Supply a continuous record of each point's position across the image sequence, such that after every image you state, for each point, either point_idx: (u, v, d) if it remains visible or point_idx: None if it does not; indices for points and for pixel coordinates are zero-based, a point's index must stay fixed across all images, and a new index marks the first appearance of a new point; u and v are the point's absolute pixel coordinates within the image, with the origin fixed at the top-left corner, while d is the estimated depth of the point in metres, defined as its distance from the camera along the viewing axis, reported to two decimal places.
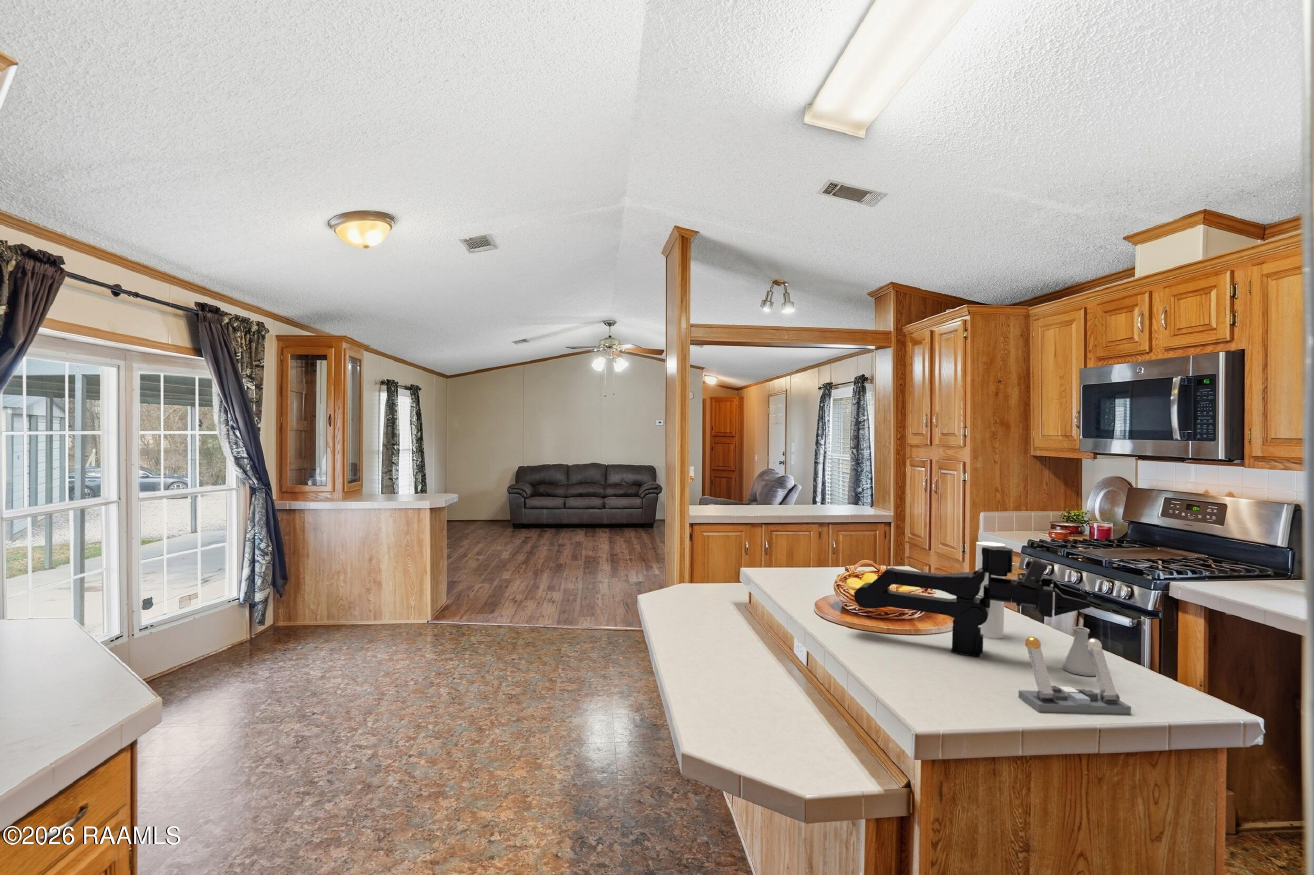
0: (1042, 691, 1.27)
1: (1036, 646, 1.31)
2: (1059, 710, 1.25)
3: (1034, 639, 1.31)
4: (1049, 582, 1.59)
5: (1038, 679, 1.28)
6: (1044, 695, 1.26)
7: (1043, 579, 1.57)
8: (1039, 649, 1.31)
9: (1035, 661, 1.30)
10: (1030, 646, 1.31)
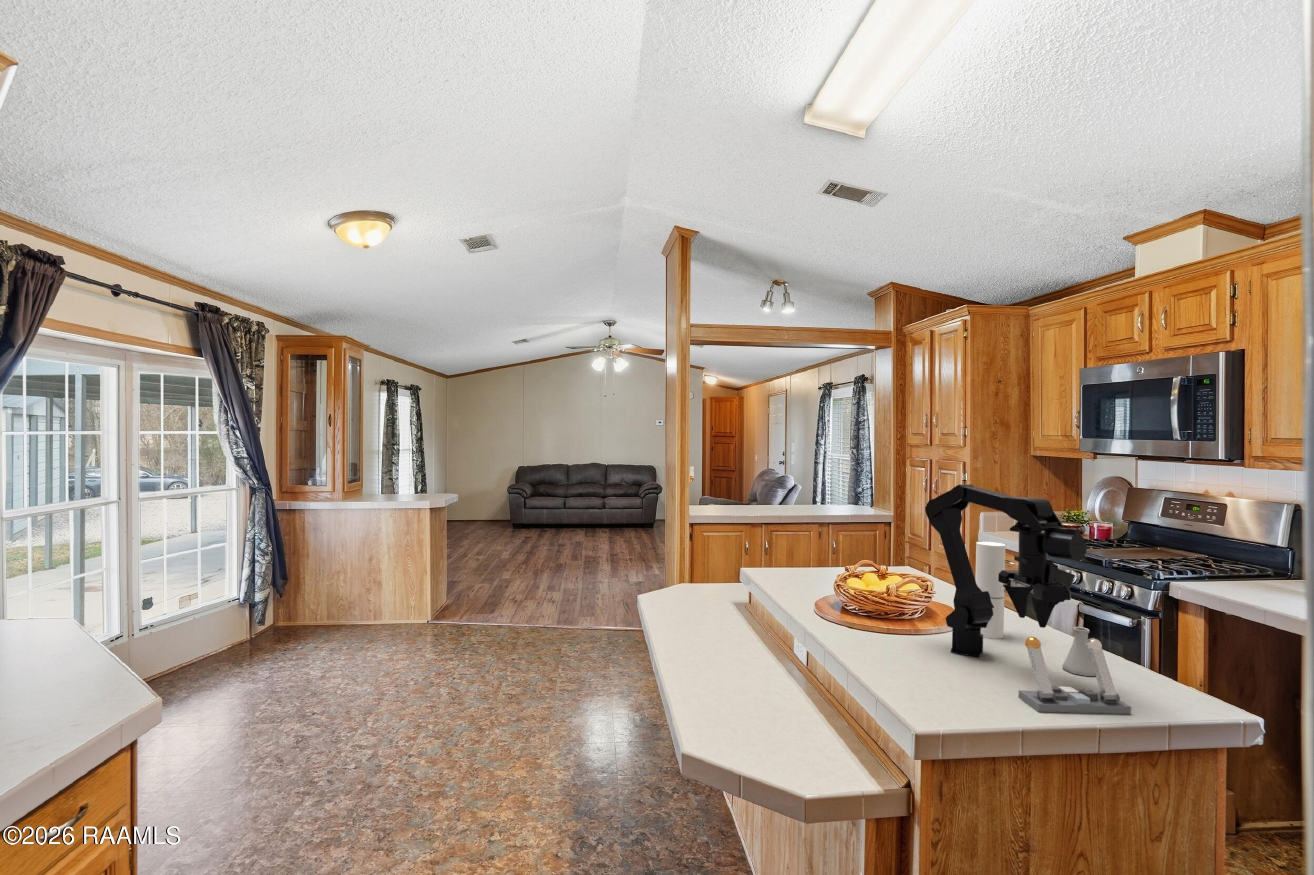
0: (1042, 691, 1.27)
1: (1036, 646, 1.31)
2: (1059, 710, 1.25)
3: (1034, 639, 1.31)
4: None
5: (1038, 679, 1.28)
6: (1044, 695, 1.26)
7: None
8: (1039, 649, 1.31)
9: (1035, 661, 1.30)
10: (1030, 646, 1.31)
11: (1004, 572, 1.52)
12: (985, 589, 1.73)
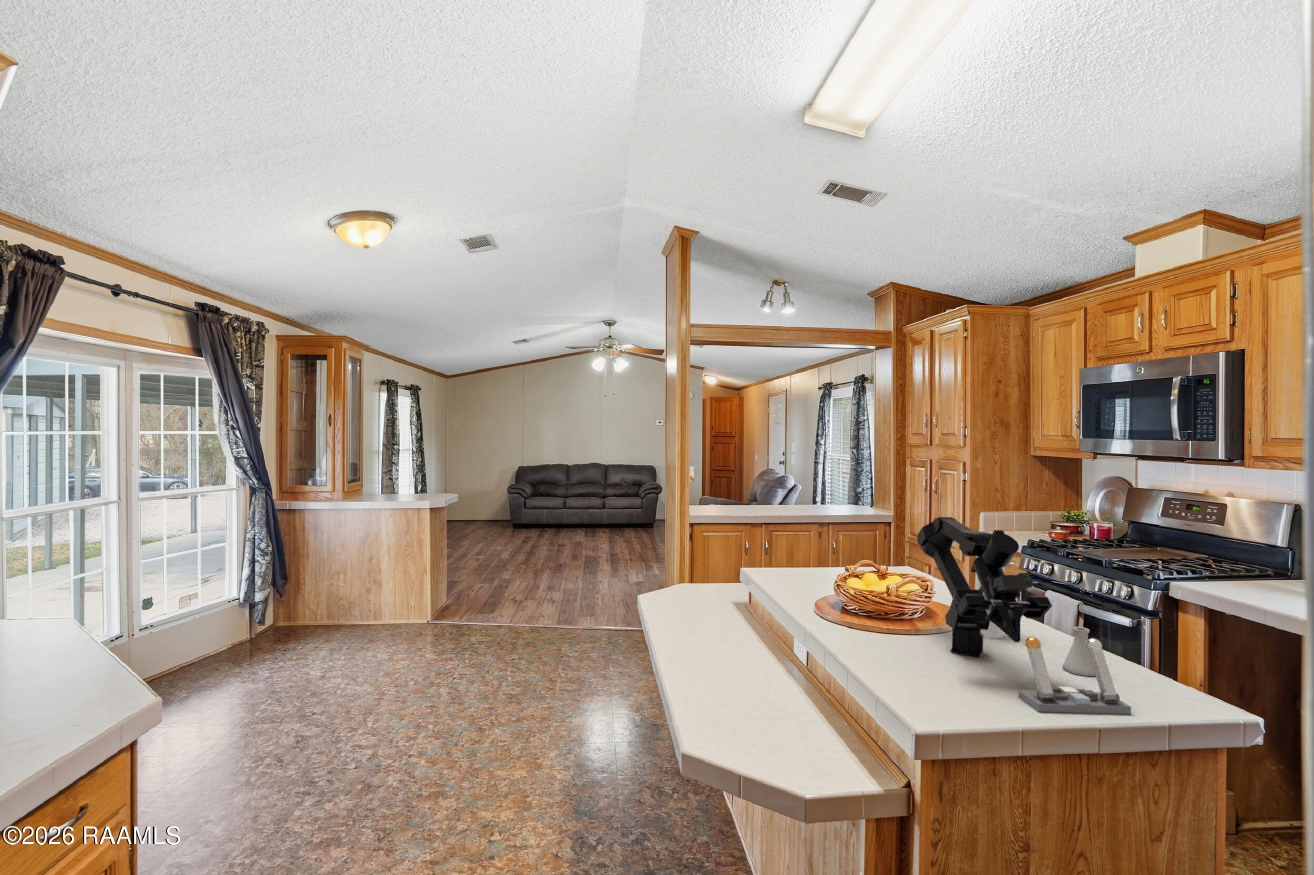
0: (1042, 691, 1.27)
1: (1036, 646, 1.31)
2: (1059, 710, 1.25)
3: (1034, 639, 1.31)
4: (1047, 606, 1.42)
5: (1038, 679, 1.28)
6: (1044, 695, 1.26)
7: (1032, 598, 1.42)
8: (1039, 649, 1.31)
9: (1035, 661, 1.30)
10: (1030, 646, 1.31)
11: None
12: None
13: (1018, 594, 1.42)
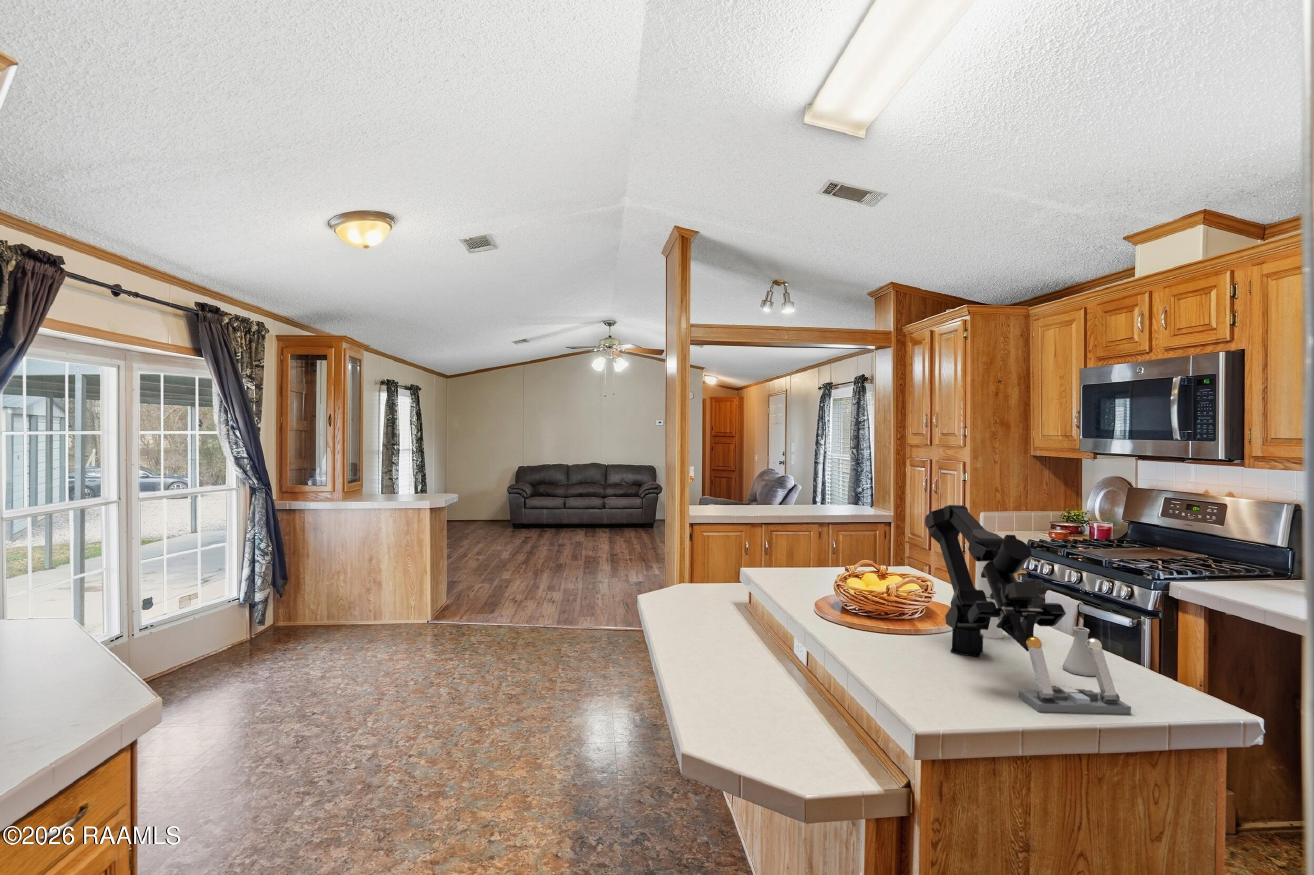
0: (1042, 691, 1.27)
1: (1037, 646, 1.30)
2: (1059, 710, 1.25)
3: (1035, 639, 1.31)
4: (1060, 614, 1.37)
5: (1038, 679, 1.28)
6: (1044, 695, 1.26)
7: (1045, 605, 1.37)
8: (1040, 649, 1.31)
9: (1036, 661, 1.29)
10: (1031, 646, 1.31)
11: None
12: (985, 589, 1.73)
13: (1031, 601, 1.38)
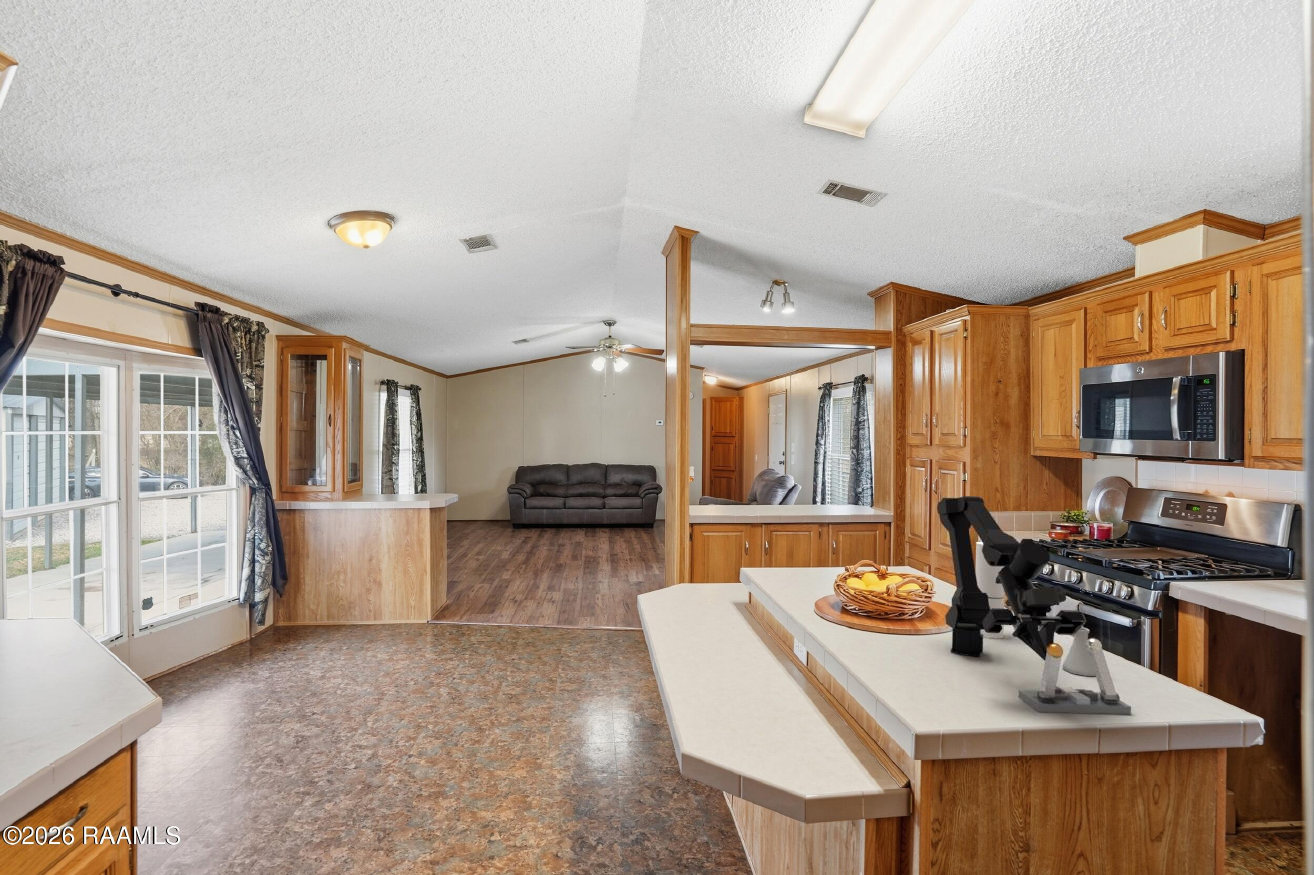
0: (1043, 694, 1.26)
1: (1057, 657, 1.24)
2: (1059, 710, 1.25)
3: (1058, 651, 1.23)
4: (1080, 622, 1.30)
5: (1044, 682, 1.26)
6: (1044, 698, 1.26)
7: (1064, 613, 1.31)
8: (1059, 658, 1.24)
9: (1049, 669, 1.25)
10: (1051, 655, 1.24)
11: None
12: (985, 589, 1.73)
13: (1049, 609, 1.31)
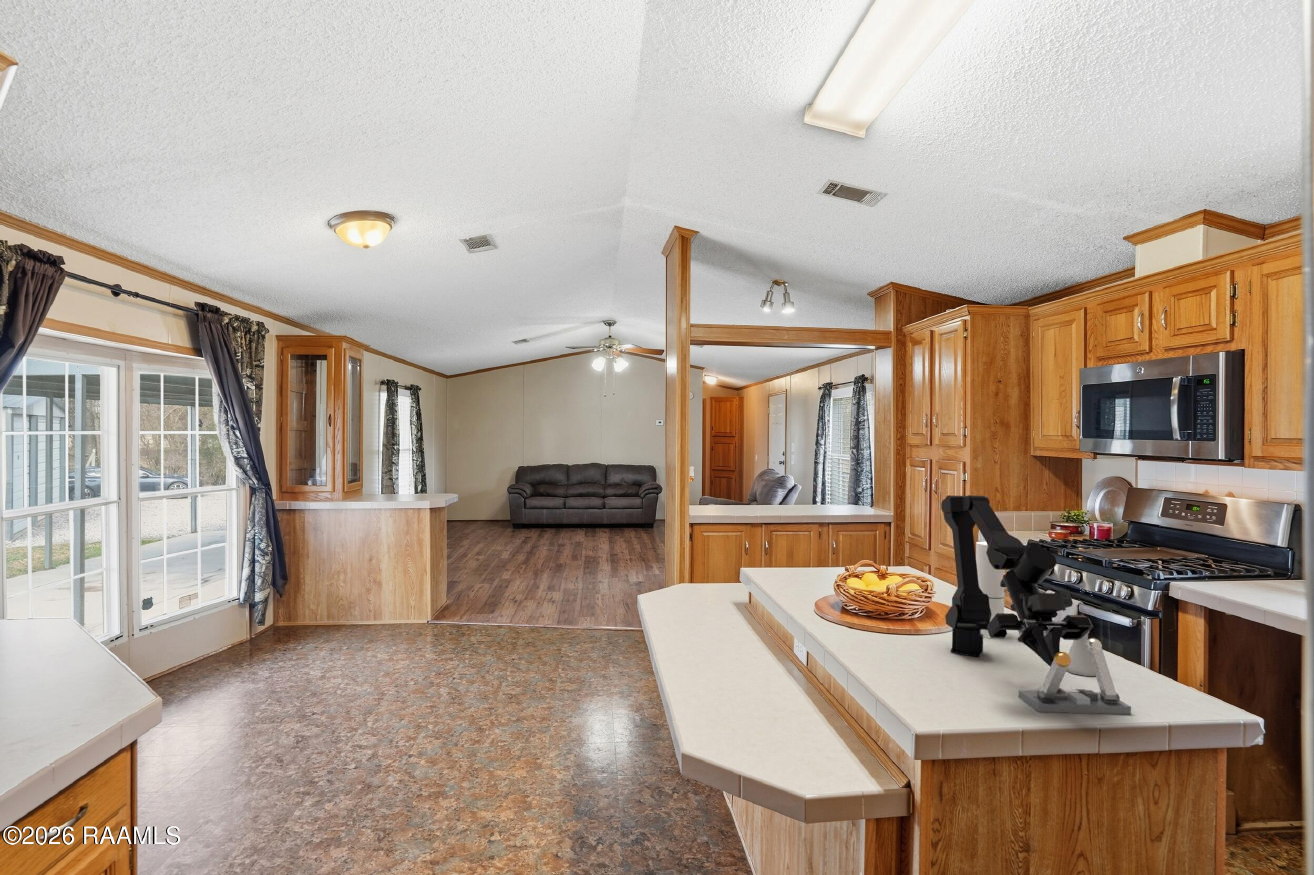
0: (1044, 695, 1.26)
1: (1064, 667, 1.22)
2: (1059, 710, 1.25)
3: (1066, 662, 1.21)
4: (1087, 627, 1.29)
5: (1046, 686, 1.25)
6: (1043, 699, 1.27)
7: (1071, 618, 1.29)
8: (1065, 667, 1.22)
9: (1054, 675, 1.24)
10: (1057, 664, 1.22)
11: None
12: (985, 589, 1.73)
13: (1055, 614, 1.29)
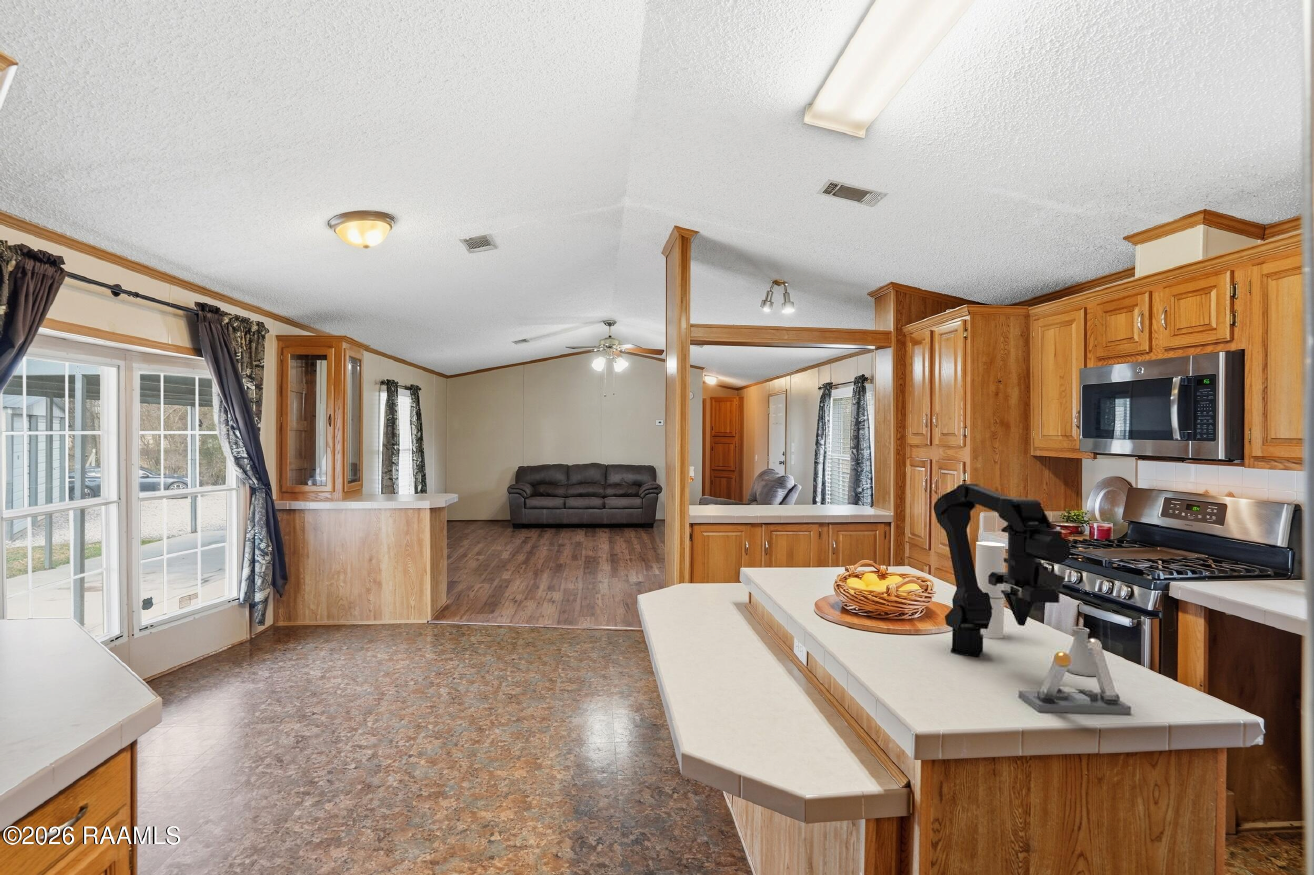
0: (1044, 695, 1.26)
1: (1064, 667, 1.22)
2: (1059, 710, 1.25)
3: (1066, 662, 1.21)
4: None
5: (1046, 686, 1.25)
6: (1043, 699, 1.27)
7: None
8: (1065, 667, 1.22)
9: (1054, 675, 1.24)
10: (1057, 664, 1.22)
11: (994, 574, 1.50)
12: (985, 589, 1.73)
13: None
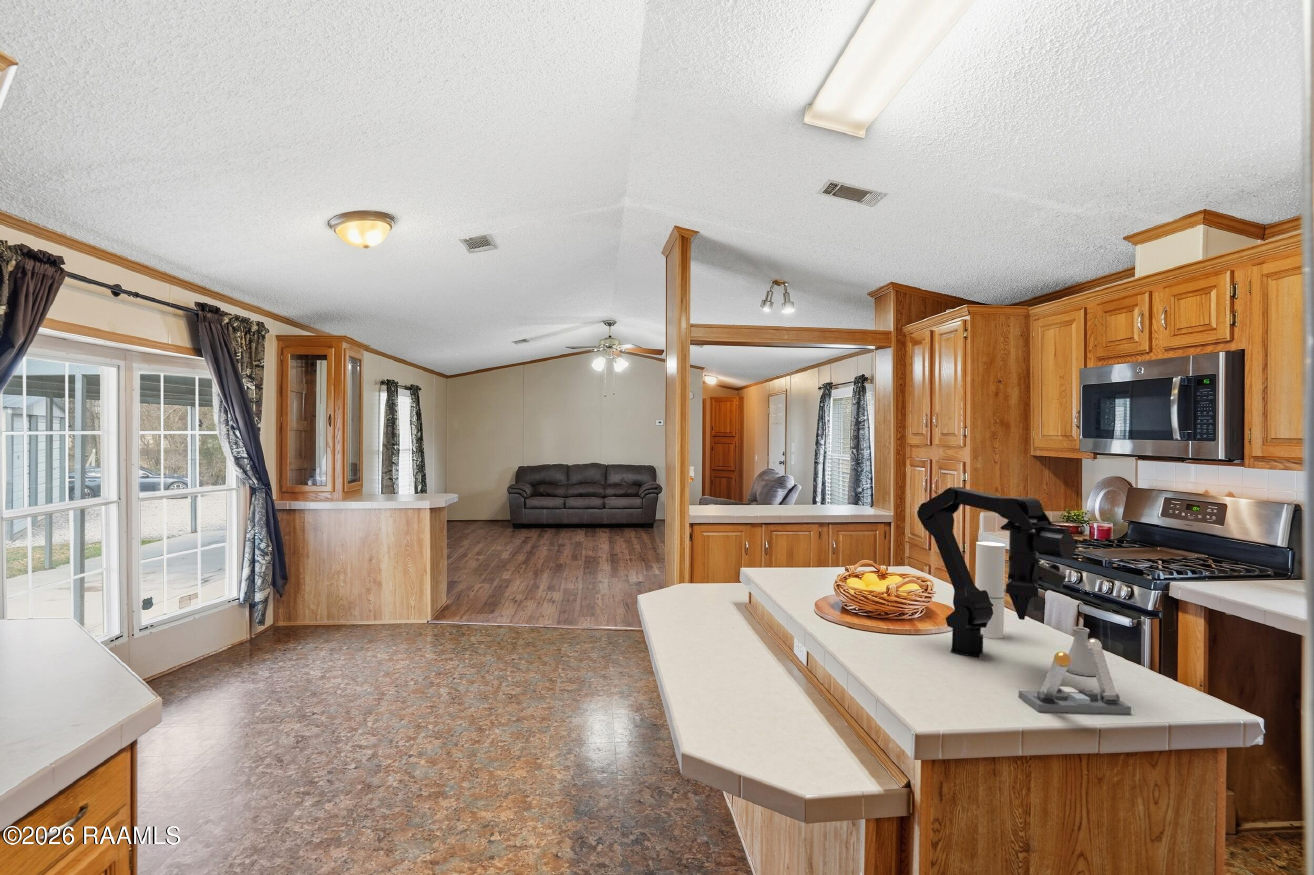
0: (1044, 695, 1.26)
1: (1064, 667, 1.22)
2: (1059, 710, 1.25)
3: (1066, 662, 1.21)
4: None
5: (1046, 686, 1.25)
6: (1043, 699, 1.27)
7: None
8: (1065, 667, 1.22)
9: (1054, 675, 1.24)
10: (1057, 664, 1.22)
11: None
12: (985, 589, 1.73)
13: None
